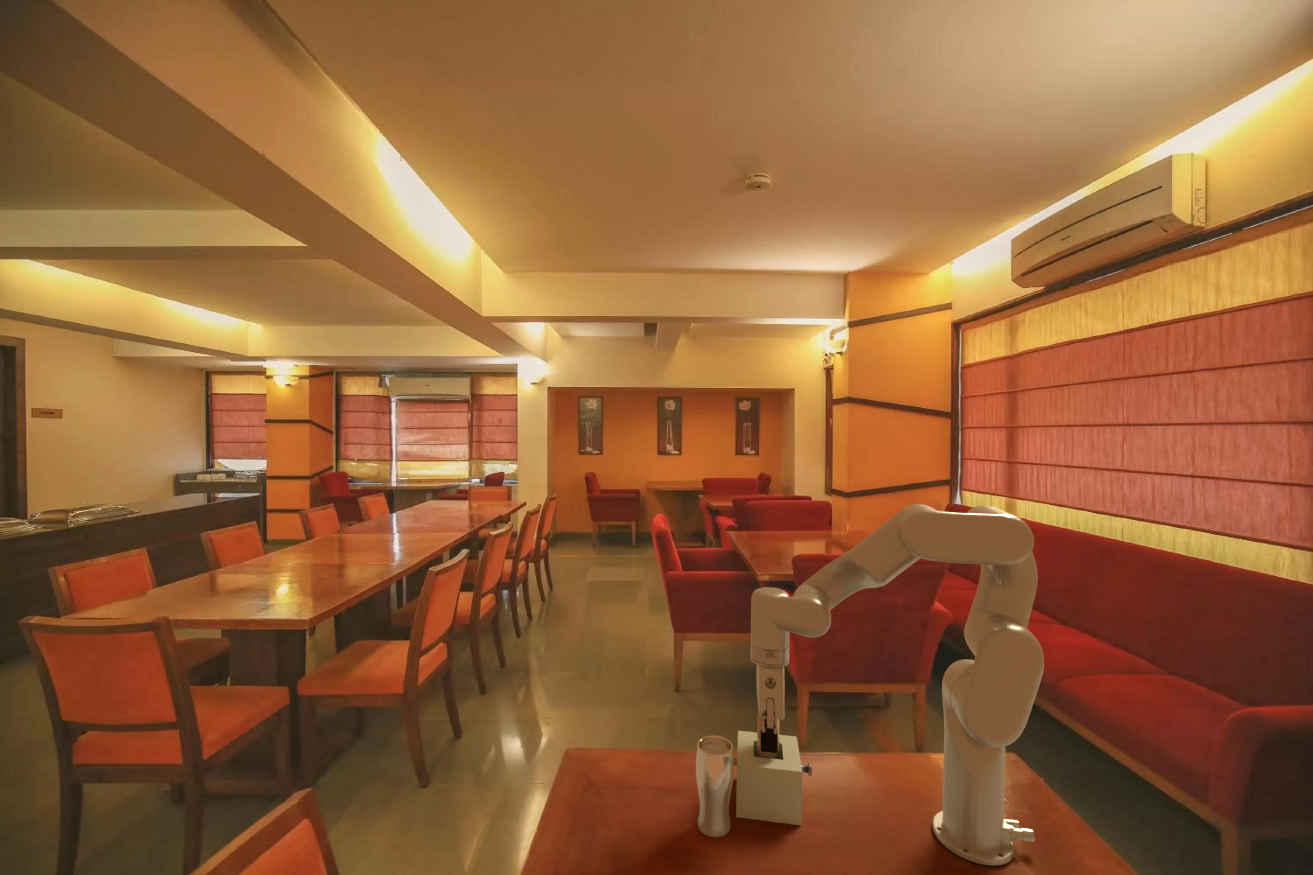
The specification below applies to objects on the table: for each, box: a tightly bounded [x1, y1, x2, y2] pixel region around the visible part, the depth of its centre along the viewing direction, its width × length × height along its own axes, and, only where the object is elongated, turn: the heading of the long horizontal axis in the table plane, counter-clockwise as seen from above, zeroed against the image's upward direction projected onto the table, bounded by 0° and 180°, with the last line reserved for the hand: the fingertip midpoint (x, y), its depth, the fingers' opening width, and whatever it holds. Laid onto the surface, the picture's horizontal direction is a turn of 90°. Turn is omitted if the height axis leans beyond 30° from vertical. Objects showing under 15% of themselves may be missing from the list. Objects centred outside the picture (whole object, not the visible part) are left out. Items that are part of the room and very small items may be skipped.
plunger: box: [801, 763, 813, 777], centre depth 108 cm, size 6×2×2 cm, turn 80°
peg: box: [756, 708, 780, 759], centre depth 109 cm, size 4×4×10 cm
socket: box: [735, 730, 803, 826], centre depth 109 cm, size 12×12×10 cm
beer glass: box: [695, 735, 735, 838], centre depth 101 cm, size 7×7×15 cm
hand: (768, 743), depth 109 cm, fingers closed on peg, 4 cm apart
